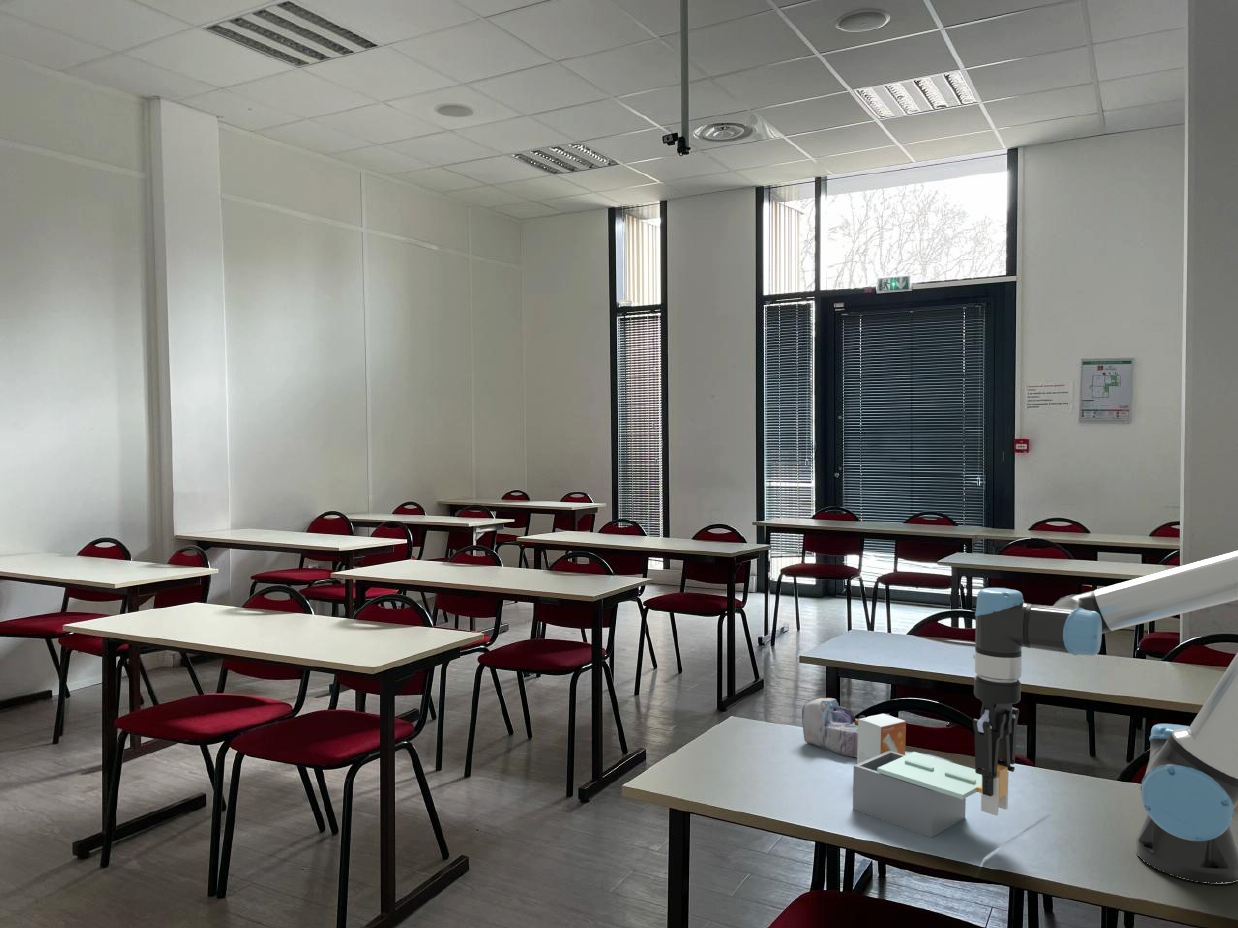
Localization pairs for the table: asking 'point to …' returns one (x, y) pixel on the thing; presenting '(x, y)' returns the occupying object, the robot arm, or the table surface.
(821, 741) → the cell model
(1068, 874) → the table surface
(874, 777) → the tub
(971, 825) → the table surface
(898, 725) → the small box
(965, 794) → the lid
